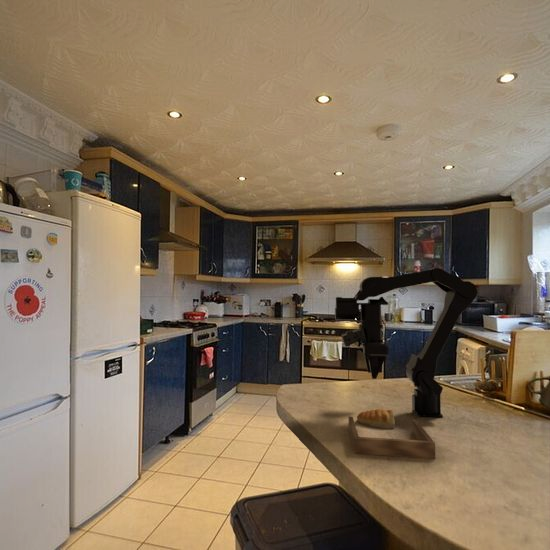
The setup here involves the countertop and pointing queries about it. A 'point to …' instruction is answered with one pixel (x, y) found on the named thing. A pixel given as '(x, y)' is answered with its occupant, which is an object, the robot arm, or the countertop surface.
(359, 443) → the box
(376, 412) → the pastry
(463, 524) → the countertop surface
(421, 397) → the robot arm
